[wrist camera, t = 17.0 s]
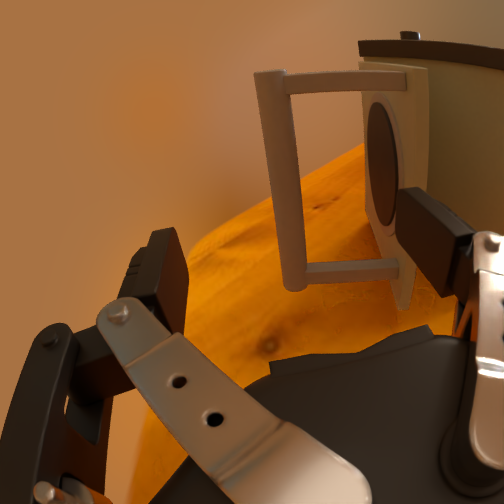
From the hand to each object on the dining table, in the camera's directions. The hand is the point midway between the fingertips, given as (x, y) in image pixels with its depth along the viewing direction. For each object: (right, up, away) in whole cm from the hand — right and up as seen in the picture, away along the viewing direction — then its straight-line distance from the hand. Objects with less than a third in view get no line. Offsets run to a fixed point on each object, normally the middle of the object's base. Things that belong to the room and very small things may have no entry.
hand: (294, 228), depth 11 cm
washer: (+21, +2, +17) cm, 27 cm away
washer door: (+6, -1, +14) cm, 15 cm away
